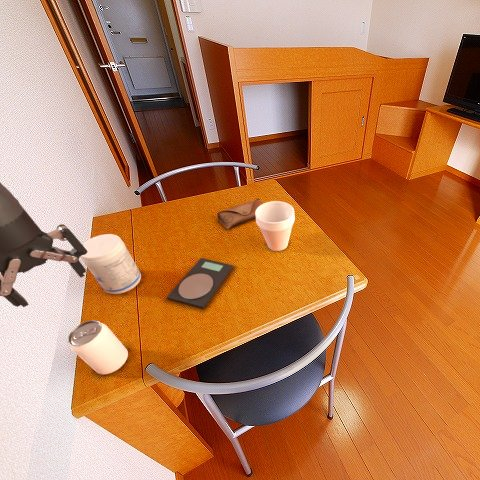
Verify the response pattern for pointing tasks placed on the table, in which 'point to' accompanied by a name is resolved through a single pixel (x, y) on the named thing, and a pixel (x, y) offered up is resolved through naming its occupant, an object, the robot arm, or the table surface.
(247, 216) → the sunglasses case
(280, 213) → the cup
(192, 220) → the table surface
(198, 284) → the scale
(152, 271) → the table surface
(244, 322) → the table surface
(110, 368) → the can
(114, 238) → the supplement tub
